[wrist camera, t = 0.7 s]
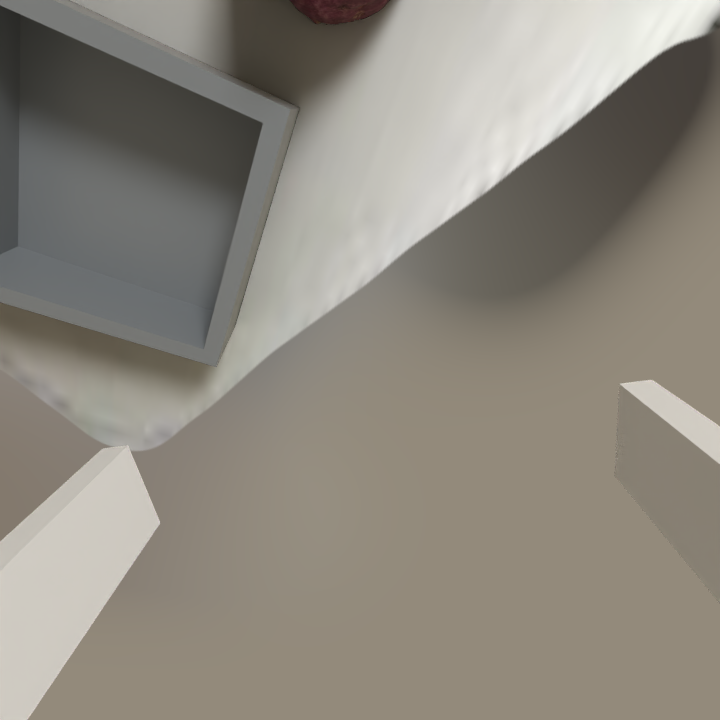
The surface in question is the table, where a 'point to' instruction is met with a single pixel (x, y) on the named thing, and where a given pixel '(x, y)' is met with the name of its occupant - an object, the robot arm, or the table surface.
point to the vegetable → (338, 9)
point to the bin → (129, 180)
